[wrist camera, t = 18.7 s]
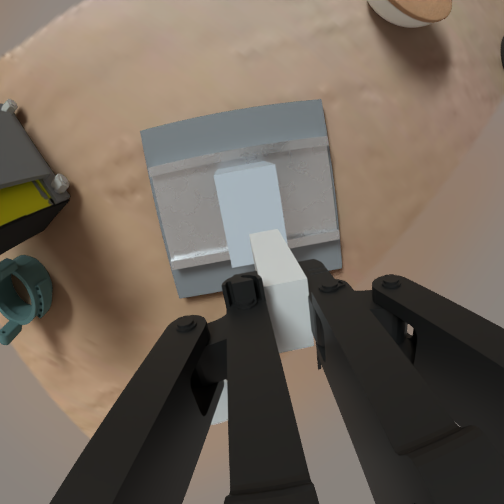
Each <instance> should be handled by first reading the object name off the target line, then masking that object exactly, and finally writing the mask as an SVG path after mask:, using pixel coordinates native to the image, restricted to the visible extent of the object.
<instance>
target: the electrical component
mask: <svg viewBox="0 0 504 504" xmlns="http://www.w3.org/2000/svg"><path fill="white" fill-rule="evenodd" d="M17 108H18V106H17V104H16V103H15V102H14V101H13V100H11V99H8V100H7V101H6V102H5V103H4V104H0V255H1V254H3V253H4V252H6V251H8V250H9V249H11V248H13V247H15V246H16V245H18V244H20V243H22V242H24V241H25V240H27V239H29V238H31V237H33V236H34V235H36V234H38V233H40V232H42V231H43V230H44V229H45V228H46V227H47V226H48V224H49V223H50V222H51V221H52V220H53V219H54V217H55V216H56V215H57V214H58V213H59V212H60V211H61V209H62V208H63V207H64V206H65V205H66V204H67V203H68V202H69V199H68V198H69V197H70V195H69V194H68V192H67V191H66V189H67V188H68V187H69V182H68V180H67V178H66V177H65V176H63V175H62V174H57V175H56V176H55V174H54V173H53V172H52V170H51V169H50V167H49V166H48V164H47V163H46V162H45V160H44V159H43V157H42V156H41V154H40V153H39V151H38V150H37V148H36V147H35V145H34V144H33V142H32V141H31V139H30V138H29V136H28V135H27V133H26V132H25V130H24V129H23V127H22V125H21V124H20V122H19V121H18V119H17V117H16V116H15V114H14V112H15V110H16V109H17Z"/></svg>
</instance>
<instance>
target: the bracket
mask: <svg viewBox="0 0 504 504" xmlns="http://www.w3.org/2000/svg"><path fill="white" fill-rule="evenodd" d="M11 274H13V275H15V276H16V277H17V278H19V279H20V281H21V282H22V283H23V284H24V285H25V287H26V289H27V290H28V293H29V295H30V298H31V304H32V305H30V304H27V303H26V302H25V301H23V300H22V299H21V298H20V297H19V295H18V294H17V292H16V291H15V289H14V287H13V284H12V279H11ZM51 302H52V282H51V279H50V276H49V274H48V272H47V270H46V269H45V267H44V266H43V265H42V264H41V263H40V262H39V261H38V260H37V259H35V258H33V257H30V256H26V255H21V256H18V257H16V258H15V259H13V260H11V259H8V258H6V259H4V260H3V261H1V262H0V312H1V313H2V314H3V315H4V316H5V317H6V318H7V319H8V320H9V322H8V323H7V324H6V325H5V326H4V327H3V328H2V329H1V330H0V343H1V344H3V345H8V344H10V342H11V341H12V340H13V339H14V338H15V337H16V336H17V335H18V334H19V333H20V332H21V330H22V325H25V324H28V323H30V322H31V321H32V320H33V319H34V318H35V317H36V316H38V317H39V318H40V319H41V318H42V317H43V316H44V315H45V313H46V312H47V311H48V310H49V309H50V306H51Z"/></svg>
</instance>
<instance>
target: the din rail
mask: <svg viewBox="0 0 504 504" xmlns="http://www.w3.org/2000/svg"><path fill="white" fill-rule="evenodd" d="M327 145H329V143H328V137H327V136H323V137H314V138H306V139H298V140H290V141H283V142H276V143H270V144H263V145H257V146H251V147H245V148H239V149H234V150H228V151H223V152H218V153H213V154H208V155H203V156H198V157H193V158H188V159H184V160H179V161H175V162H170V163H166V164H162V165H158V166H154V167H150V168H148V170H149V175H150V177H152V180H153V185H154V190H155V194H156V199H157V203H158V208H159V212H160V216H161V221H162V225H163V229H164V233H165V237H166V241H167V245H168V249H169V253H170V257H171V261H170V264H171V267H172V270H177V269H182V268H187V267H193V266H198V265H204V264H209V263H215V262H220V261H225V260H230V255H229V250H228V245H227V240H226V235H225V230H224V225H223V220H222V215H221V210H220V205H219V200H218V195H217V190H216V185H215V180H214V174H215V172H216V171H217V170H218V169H223V168H228V167H234V166H239V165H245V164H250V163H256V162H262V161H266V162H269V163H272V164H275V166H276V172H277V178H278V185H279V191H280V197H281V204H282V210H283V217H284V223H285V230H286V237H287V244H288V247H289V248H295V247H301V246H306V245H311V244H317V243H322V242H327V241H333V240H338V239H340V235H339V230H338V229H337V225H336V215H335V206H334V197H333V189H332V181H331V173H330V165H329V158H328V151H327Z"/></svg>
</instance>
